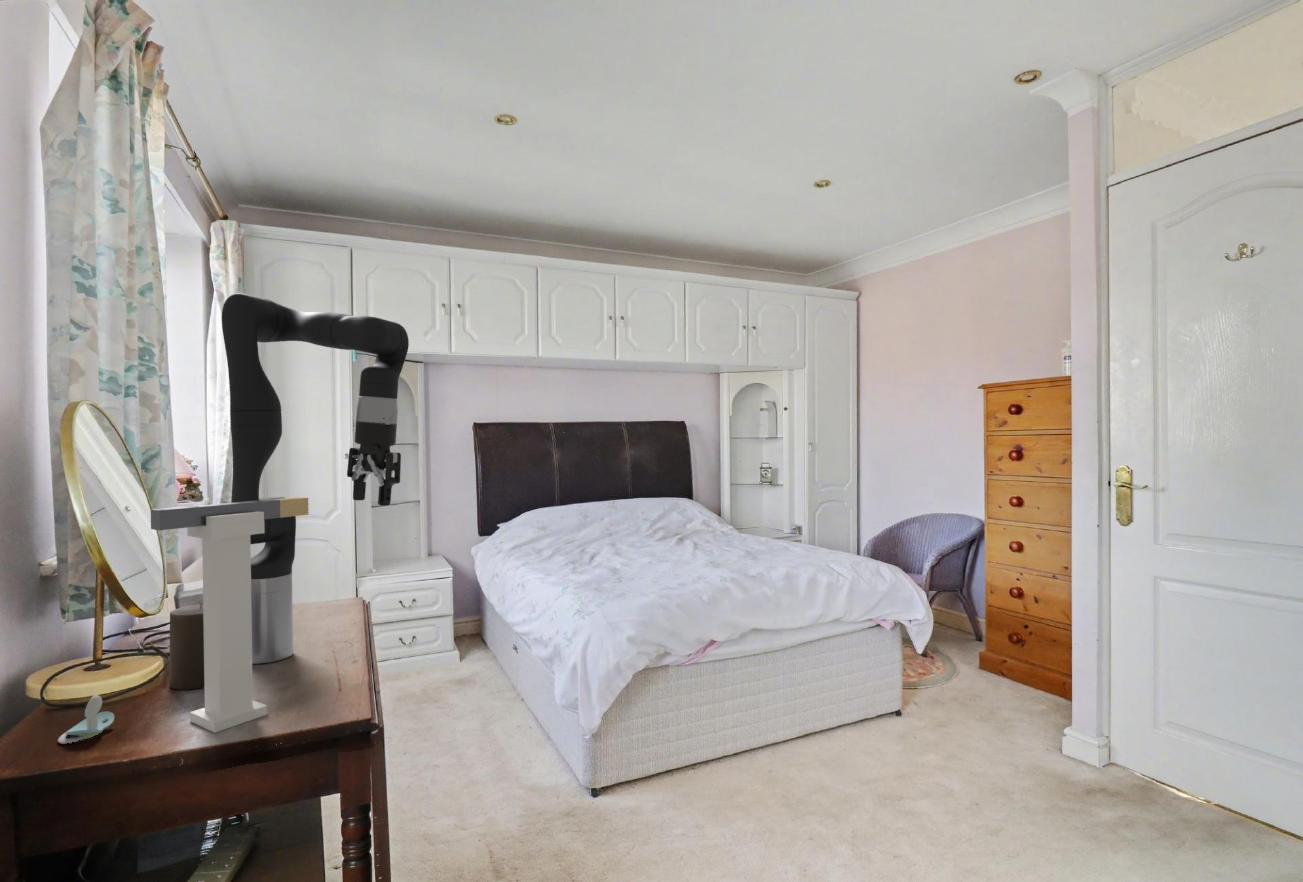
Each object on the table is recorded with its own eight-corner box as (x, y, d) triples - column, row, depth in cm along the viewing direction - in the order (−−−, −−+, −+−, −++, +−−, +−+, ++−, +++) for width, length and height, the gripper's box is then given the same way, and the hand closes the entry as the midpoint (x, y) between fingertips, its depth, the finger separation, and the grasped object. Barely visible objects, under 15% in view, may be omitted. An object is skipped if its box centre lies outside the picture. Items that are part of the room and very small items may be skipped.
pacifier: (47, 750, 101) (95, 744, 102) (45, 708, 100) (92, 702, 102) (75, 730, 108) (119, 724, 109) (73, 690, 108) (117, 685, 109)
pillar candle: (196, 692, 122) (196, 609, 122) (156, 687, 125) (156, 605, 125) (243, 675, 131) (243, 597, 132) (204, 670, 134) (205, 594, 134)
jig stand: (190, 721, 110) (187, 514, 109) (242, 704, 116) (239, 509, 116) (214, 732, 105) (211, 517, 105) (267, 714, 112) (264, 511, 112)
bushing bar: (150, 529, 103) (150, 509, 103) (299, 513, 122) (298, 497, 122) (159, 530, 101) (159, 510, 101) (308, 514, 121) (308, 497, 121)
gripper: (338, 418, 135) (333, 499, 135) (380, 421, 127) (375, 508, 127) (372, 420, 141) (367, 498, 141) (415, 423, 133) (409, 506, 133)
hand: (371, 502), depth 134 cm, fingers open, 8 cm apart
